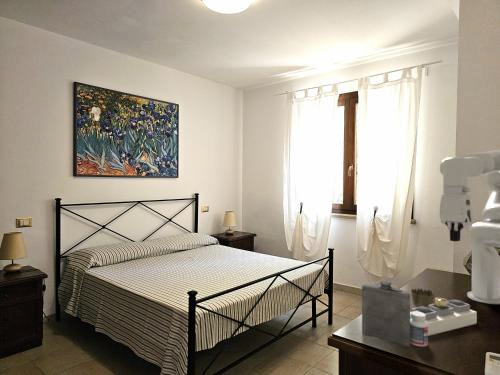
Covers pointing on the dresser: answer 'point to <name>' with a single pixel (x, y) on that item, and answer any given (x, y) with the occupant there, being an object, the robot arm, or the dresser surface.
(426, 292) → the olive hollow bell-shaped piece
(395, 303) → the flask
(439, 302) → the brass knob
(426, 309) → the button
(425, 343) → the pill bottle
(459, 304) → the button
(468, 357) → the dresser surface
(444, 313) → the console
